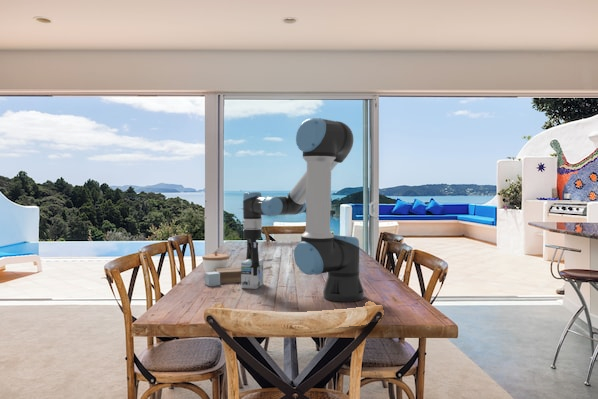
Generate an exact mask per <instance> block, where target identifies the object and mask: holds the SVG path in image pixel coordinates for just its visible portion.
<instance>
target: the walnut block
mask: <svg viewBox="0 0 598 399" xmlns="http://www.w3.org/2000/svg"><path fill="white" fill-rule="evenodd" d="M215 272H218V273H220V284H229V283H230V284H231V283H232V284H233V283H241V266H228V267H225V268H215Z"/></svg>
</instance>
